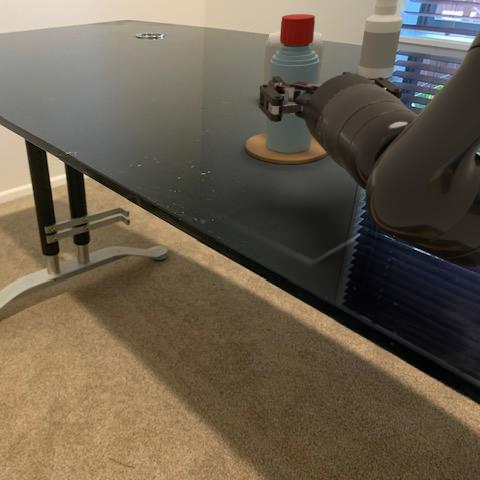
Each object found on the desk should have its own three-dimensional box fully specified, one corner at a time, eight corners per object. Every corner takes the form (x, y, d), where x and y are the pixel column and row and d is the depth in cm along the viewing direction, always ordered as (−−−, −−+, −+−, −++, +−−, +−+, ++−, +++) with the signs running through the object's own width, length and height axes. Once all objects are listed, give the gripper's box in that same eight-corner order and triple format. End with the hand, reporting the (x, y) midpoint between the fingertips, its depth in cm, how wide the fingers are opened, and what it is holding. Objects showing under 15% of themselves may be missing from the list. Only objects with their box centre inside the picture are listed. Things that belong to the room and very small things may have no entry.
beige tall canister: (357, 79, 105) (371, -18, 96) (357, 71, 110) (370, -21, 101) (393, 79, 103) (411, -19, 94) (391, 72, 108) (408, -22, 99)
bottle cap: (293, 38, 69) (295, 13, 67) (319, 41, 66) (321, 15, 64) (273, 43, 67) (275, 17, 65) (298, 46, 64) (300, 19, 62)
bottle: (285, 134, 78) (294, 14, 69) (319, 144, 73) (334, 18, 64) (256, 145, 74) (262, 21, 66) (290, 156, 70) (302, 25, 61)
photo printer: (317, 95, 96) (324, 26, 90) (318, 102, 93) (326, 30, 86) (262, 95, 98) (265, 28, 92) (261, 102, 95) (265, 32, 88)
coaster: (281, 129, 81) (282, 125, 81) (346, 147, 73) (346, 144, 73) (228, 148, 75) (228, 144, 75) (292, 171, 67) (292, 167, 67)
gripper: (441, 79, 46) (372, 46, 60) (285, 89, 46) (252, 53, 60) (423, 156, 50) (362, 109, 64) (280, 165, 50) (249, 116, 64)
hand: (309, 82), depth 62 cm, fingers open, 8 cm apart
